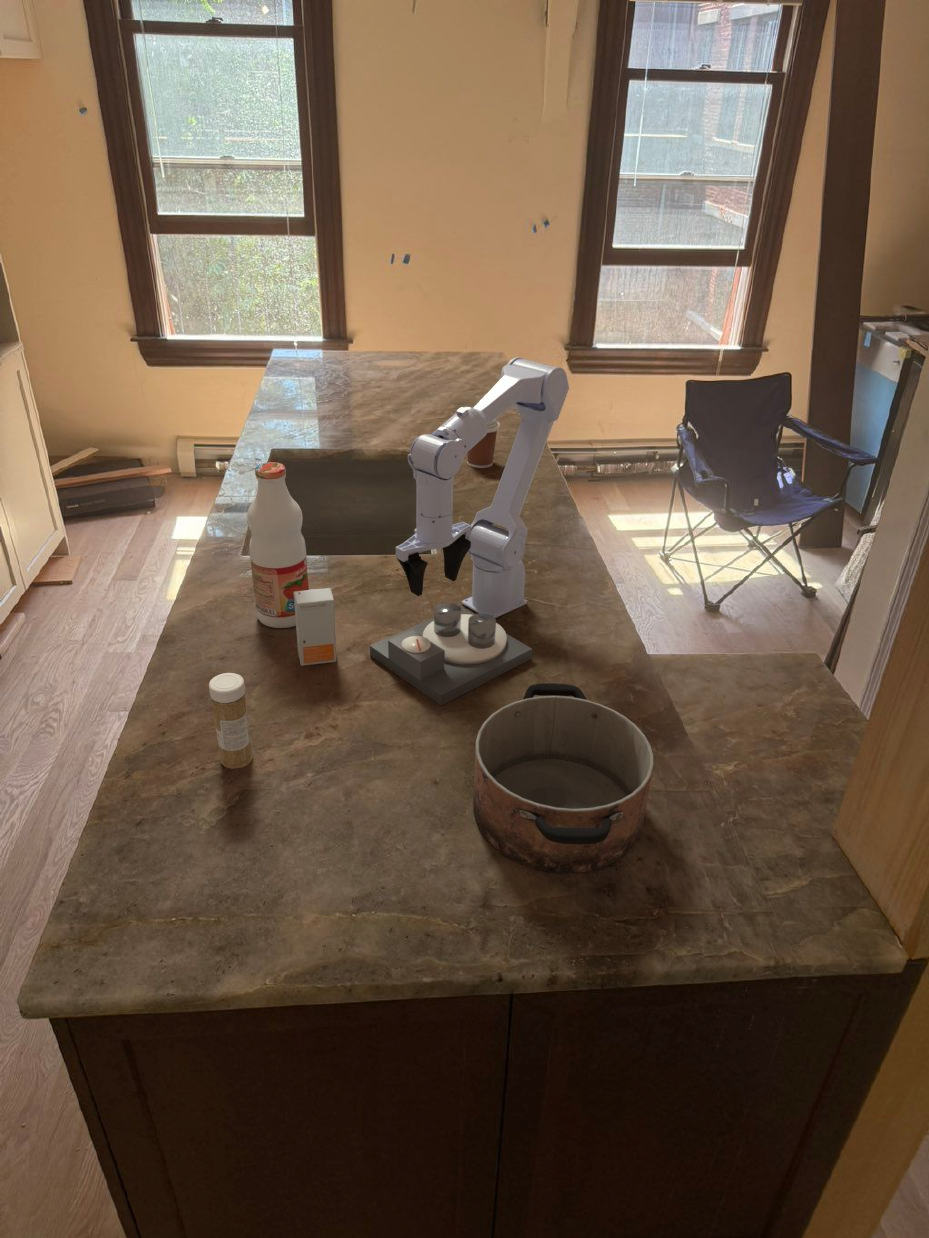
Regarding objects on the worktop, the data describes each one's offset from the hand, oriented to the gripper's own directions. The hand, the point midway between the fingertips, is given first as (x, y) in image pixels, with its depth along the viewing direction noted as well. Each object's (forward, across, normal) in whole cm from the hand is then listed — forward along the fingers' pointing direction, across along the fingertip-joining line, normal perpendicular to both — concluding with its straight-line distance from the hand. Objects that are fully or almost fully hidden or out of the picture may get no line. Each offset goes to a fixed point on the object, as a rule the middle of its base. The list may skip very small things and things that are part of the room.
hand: (433, 585), depth 145 cm
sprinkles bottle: (+11, +42, +6) cm, 43 cm away
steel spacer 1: (+7, 0, +3) cm, 8 cm away
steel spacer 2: (+7, -2, +9) cm, 12 cm away
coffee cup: (+11, -63, -54) cm, 84 cm away
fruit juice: (+11, +15, -23) cm, 29 cm away
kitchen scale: (+10, +2, +6) cm, 12 cm away
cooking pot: (+11, +15, +42) cm, 46 cm away
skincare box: (+11, +18, -8) cm, 23 cm away
